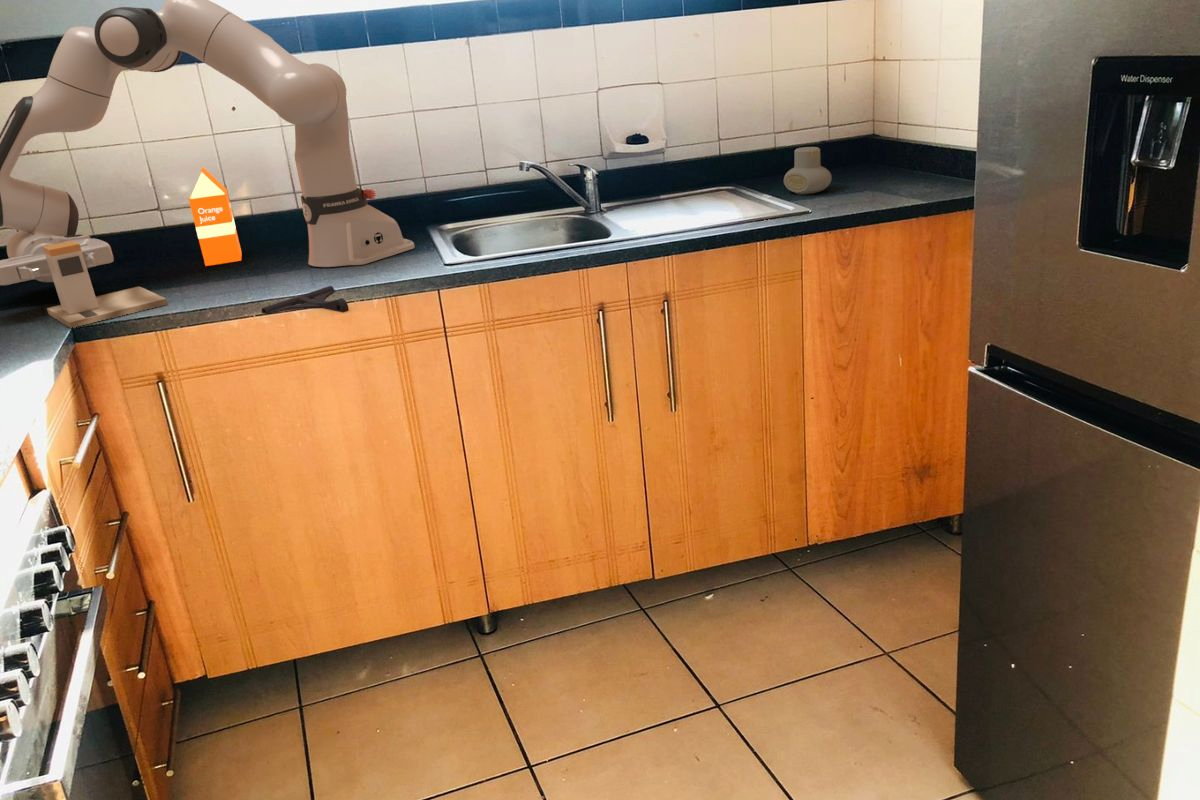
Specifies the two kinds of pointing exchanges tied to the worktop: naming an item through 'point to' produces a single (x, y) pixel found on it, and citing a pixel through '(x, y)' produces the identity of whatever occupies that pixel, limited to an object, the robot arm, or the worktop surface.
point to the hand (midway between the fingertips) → (63, 268)
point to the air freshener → (807, 172)
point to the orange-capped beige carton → (70, 277)
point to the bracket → (310, 302)
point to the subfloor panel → (111, 306)
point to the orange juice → (214, 221)
